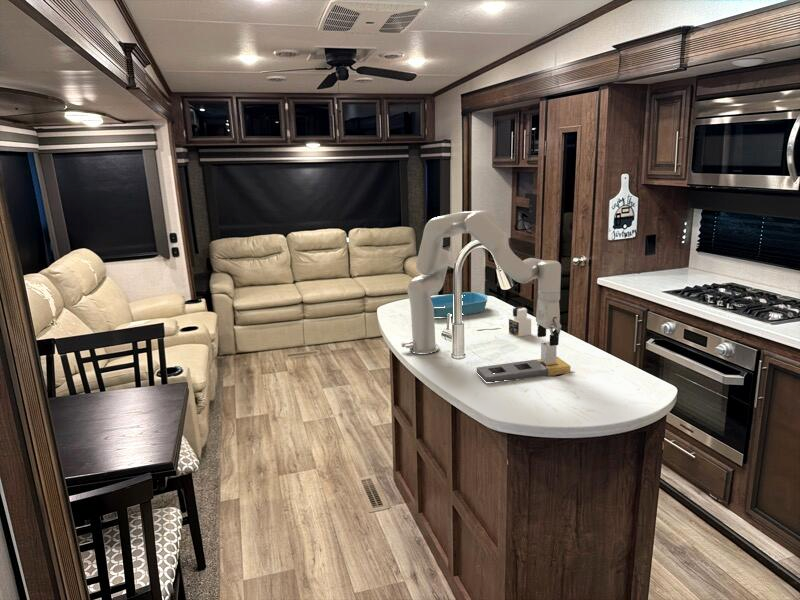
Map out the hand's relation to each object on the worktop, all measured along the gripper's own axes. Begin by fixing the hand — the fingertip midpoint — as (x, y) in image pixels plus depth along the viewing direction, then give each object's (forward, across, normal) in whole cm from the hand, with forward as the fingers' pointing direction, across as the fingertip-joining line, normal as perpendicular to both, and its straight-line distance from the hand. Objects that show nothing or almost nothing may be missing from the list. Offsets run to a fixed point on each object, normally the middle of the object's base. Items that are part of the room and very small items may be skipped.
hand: (547, 340), depth 198 cm
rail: (+11, 0, -10) cm, 15 cm away
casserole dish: (+13, -87, -9) cm, 88 cm away
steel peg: (+11, 0, 0) cm, 11 cm away
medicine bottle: (+12, -42, +8) cm, 44 cm away
